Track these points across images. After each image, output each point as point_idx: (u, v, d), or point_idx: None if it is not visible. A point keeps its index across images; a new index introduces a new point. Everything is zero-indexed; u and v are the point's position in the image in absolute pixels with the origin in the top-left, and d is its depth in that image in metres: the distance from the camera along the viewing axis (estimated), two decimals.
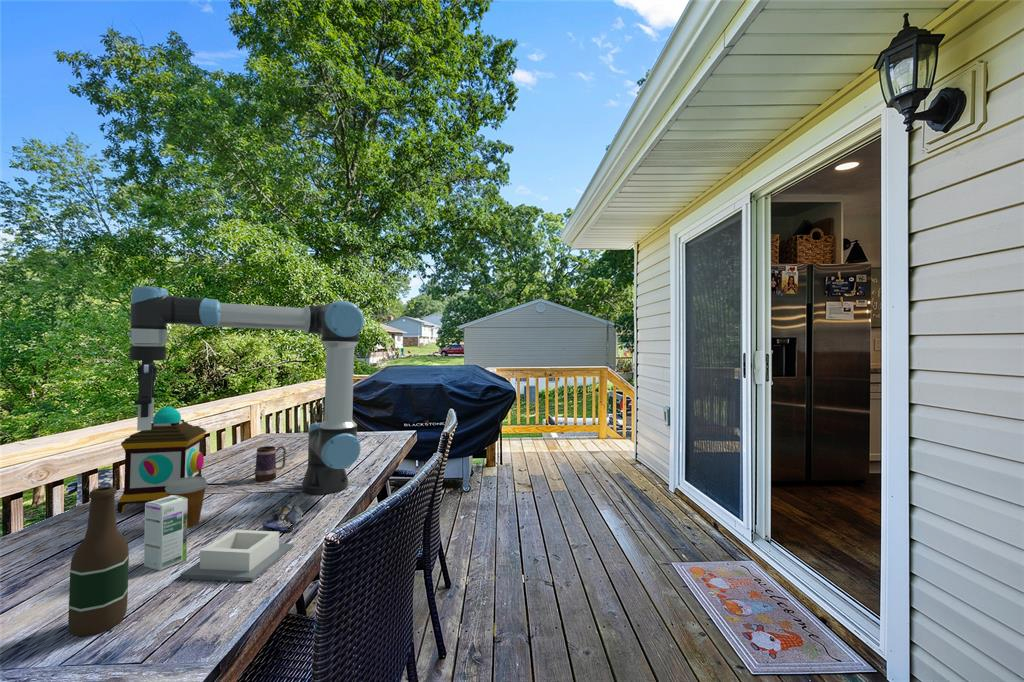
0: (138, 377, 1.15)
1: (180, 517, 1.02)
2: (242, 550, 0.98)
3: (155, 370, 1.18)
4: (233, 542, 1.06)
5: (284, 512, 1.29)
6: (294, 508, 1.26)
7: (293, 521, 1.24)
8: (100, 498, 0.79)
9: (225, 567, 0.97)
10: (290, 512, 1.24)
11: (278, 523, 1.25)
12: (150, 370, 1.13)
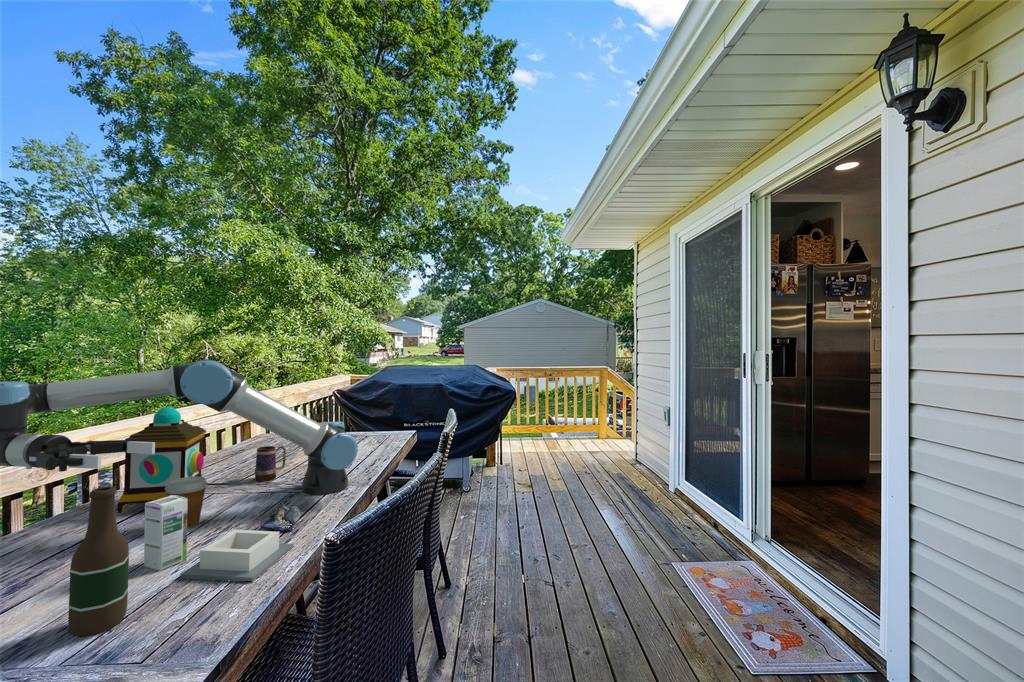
0: None
1: (180, 517, 1.02)
2: (242, 550, 0.98)
3: (58, 446, 1.02)
4: (233, 542, 1.06)
5: (279, 512, 1.29)
6: (292, 508, 1.26)
7: (292, 520, 1.24)
8: (100, 498, 0.79)
9: (225, 567, 0.97)
10: (288, 512, 1.24)
11: (275, 523, 1.25)
12: (33, 455, 0.97)
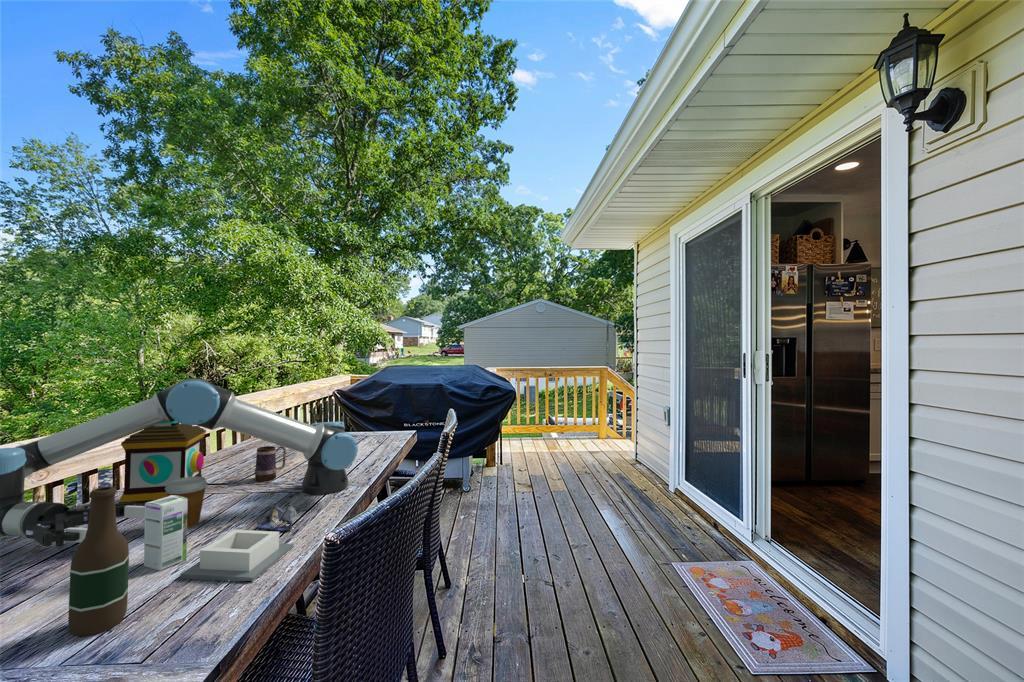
0: None
1: (180, 517, 1.02)
2: (242, 550, 0.98)
3: (55, 516, 1.01)
4: (233, 542, 1.06)
5: (273, 513, 1.28)
6: (288, 508, 1.26)
7: (289, 521, 1.24)
8: (100, 498, 0.79)
9: (225, 567, 0.97)
10: (285, 512, 1.24)
11: (271, 524, 1.24)
12: (30, 528, 0.97)
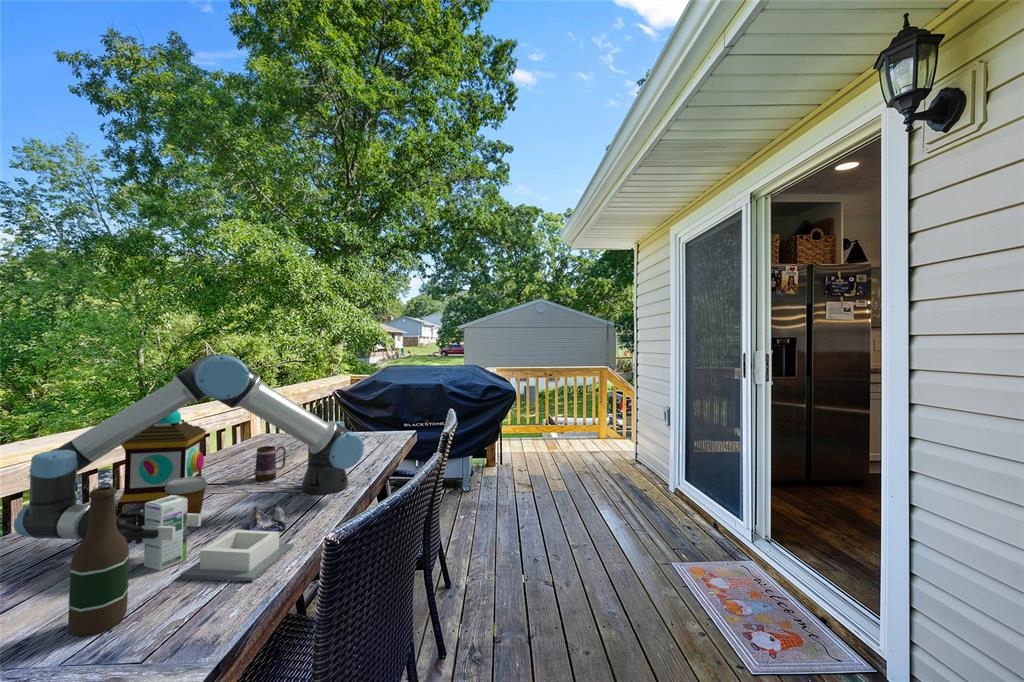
0: None
1: (180, 517, 1.02)
2: (242, 550, 0.98)
3: None
4: (233, 542, 1.06)
5: (256, 516, 1.25)
6: (276, 509, 1.25)
7: (279, 521, 1.24)
8: (100, 498, 0.79)
9: (225, 567, 0.97)
10: (274, 513, 1.24)
11: (259, 527, 1.22)
12: None
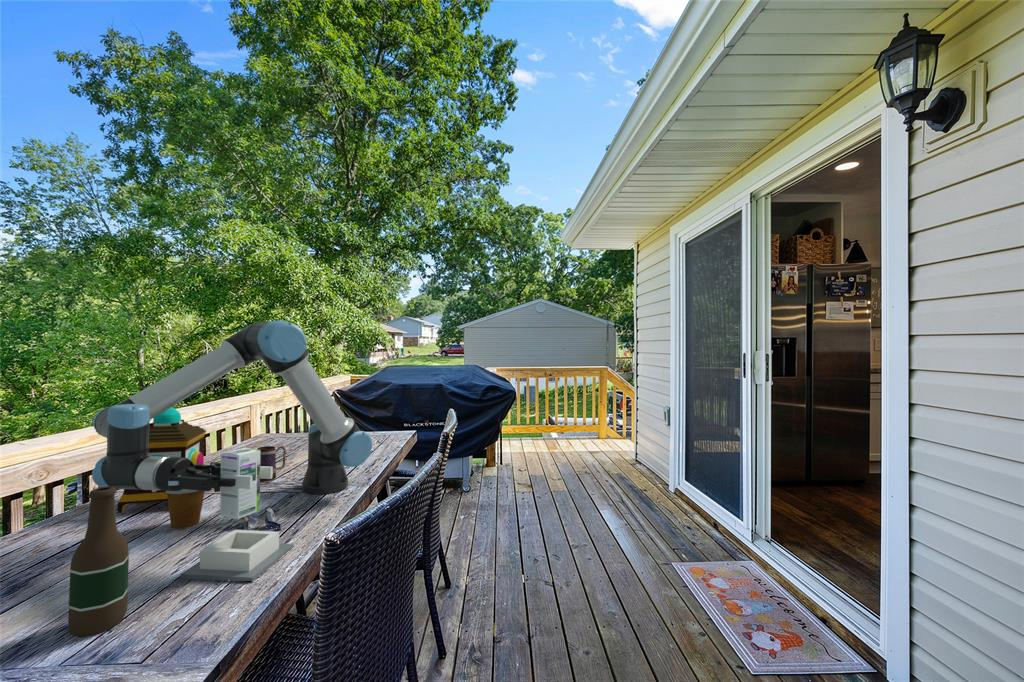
0: None
1: (254, 468, 1.03)
2: (242, 550, 0.98)
3: (188, 469, 1.02)
4: (233, 542, 1.06)
5: (244, 519, 1.23)
6: (267, 510, 1.24)
7: (272, 522, 1.23)
8: (100, 498, 0.79)
9: (225, 567, 0.97)
10: (267, 514, 1.23)
11: (250, 529, 1.21)
12: (175, 479, 0.97)
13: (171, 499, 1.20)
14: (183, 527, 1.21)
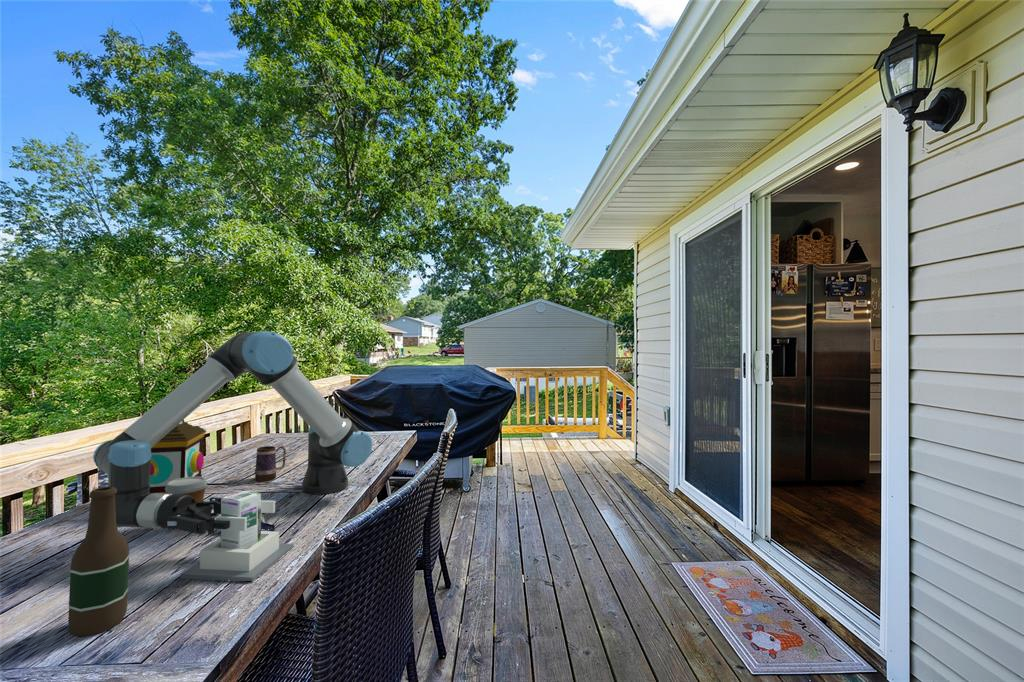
0: None
1: (255, 512, 1.03)
2: (242, 550, 0.98)
3: (188, 508, 1.02)
4: None
5: None
6: None
7: (263, 523, 1.22)
8: (100, 498, 0.79)
9: (225, 567, 0.97)
10: None
11: None
12: (173, 519, 0.97)
13: None
14: None
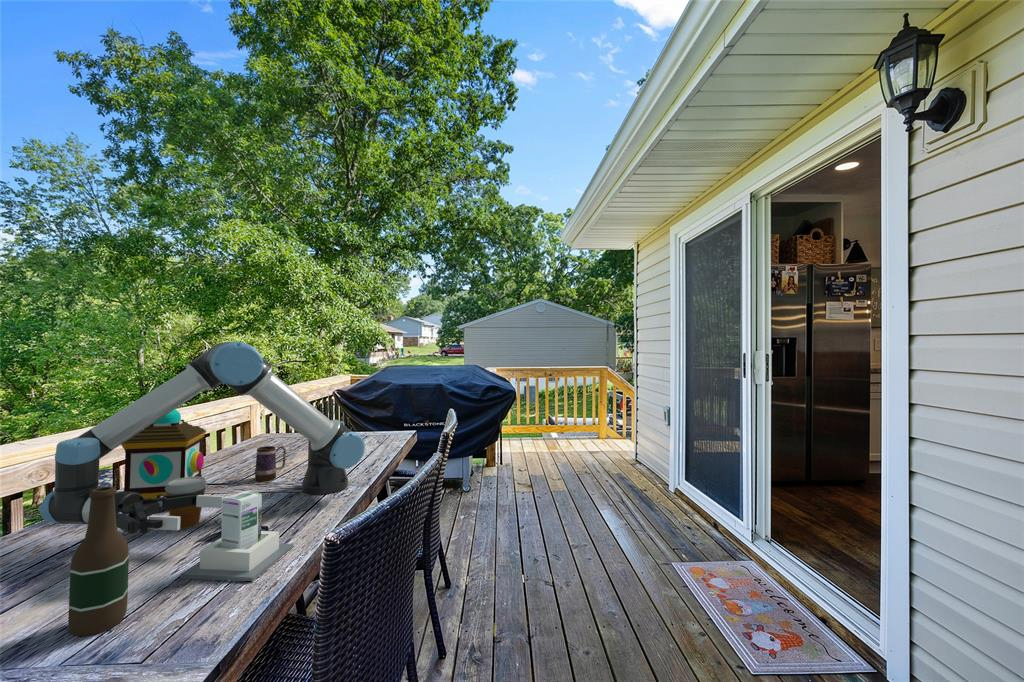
0: None
1: (255, 512, 1.03)
2: (242, 550, 0.98)
3: (133, 505, 1.03)
4: None
5: (221, 529, 1.16)
6: None
7: None
8: (100, 498, 0.79)
9: (225, 567, 0.97)
10: None
11: None
12: None
13: None
14: (183, 527, 1.21)
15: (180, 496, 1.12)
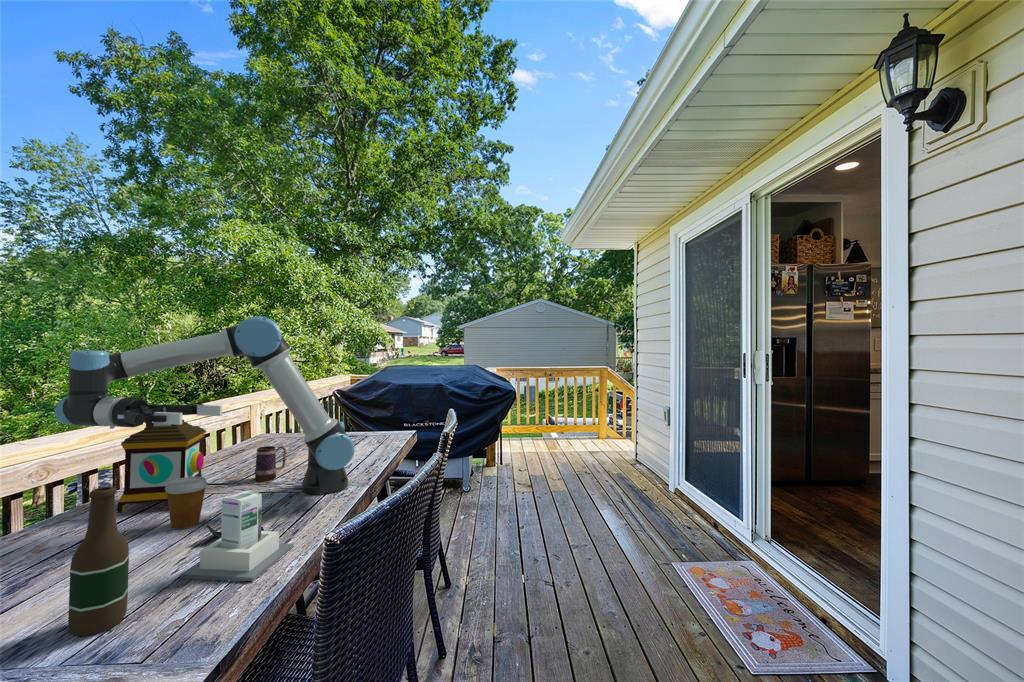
0: None
1: (255, 512, 1.03)
2: (242, 550, 0.98)
3: (140, 407, 1.13)
4: None
5: (214, 533, 1.13)
6: None
7: None
8: (100, 498, 0.79)
9: (225, 567, 0.97)
10: None
11: None
12: (121, 413, 1.08)
13: (171, 499, 1.20)
14: (183, 527, 1.21)
15: None
